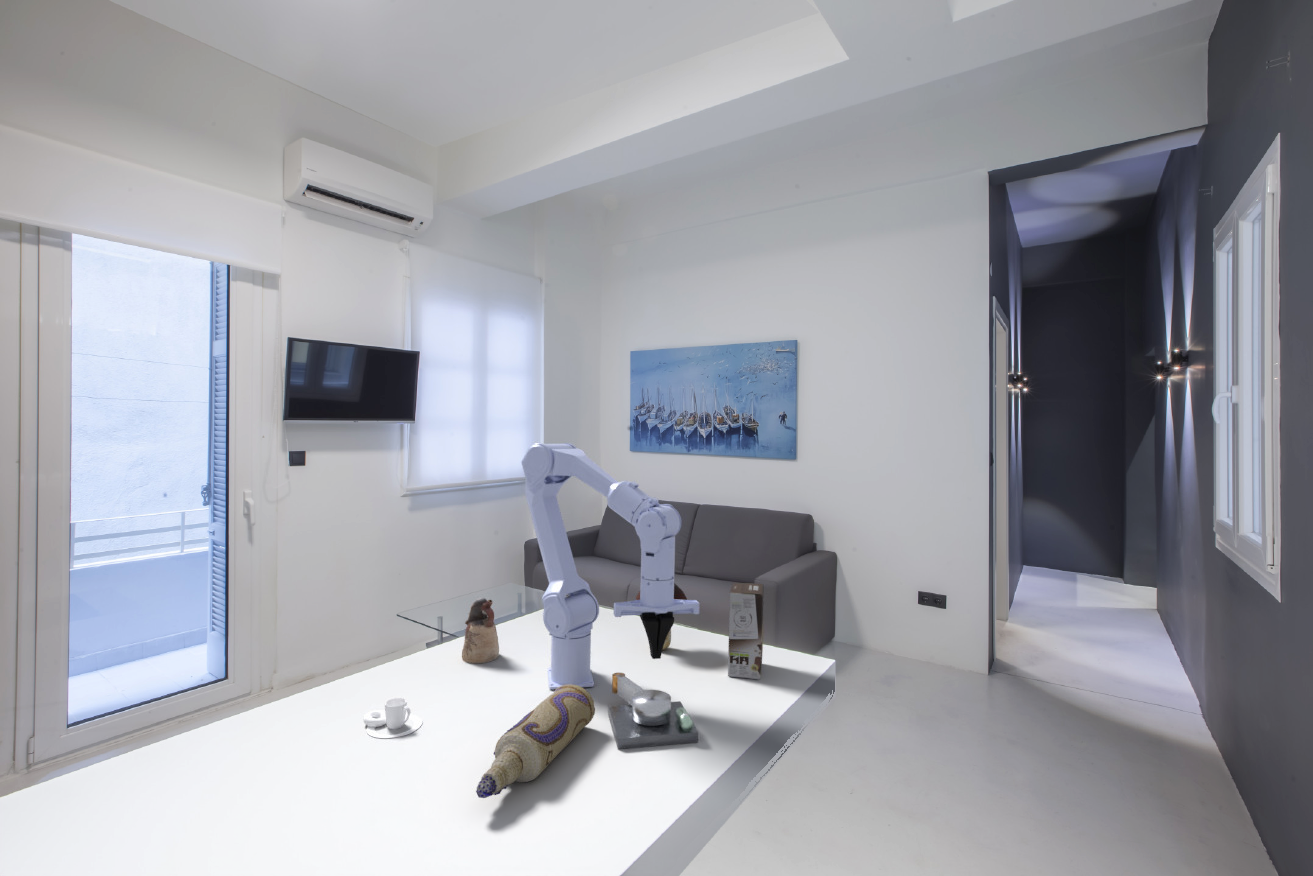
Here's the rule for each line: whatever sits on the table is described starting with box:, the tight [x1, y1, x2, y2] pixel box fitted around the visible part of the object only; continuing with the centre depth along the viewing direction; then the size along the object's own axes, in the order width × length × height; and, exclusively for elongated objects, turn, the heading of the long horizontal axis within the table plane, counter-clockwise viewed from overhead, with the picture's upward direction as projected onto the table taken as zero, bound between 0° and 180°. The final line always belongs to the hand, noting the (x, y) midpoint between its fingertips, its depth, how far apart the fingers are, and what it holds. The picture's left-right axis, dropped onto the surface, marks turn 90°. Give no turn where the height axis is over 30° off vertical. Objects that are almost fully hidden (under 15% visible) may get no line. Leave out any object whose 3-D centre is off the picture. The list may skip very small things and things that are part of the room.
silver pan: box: [611, 672, 672, 726], centre depth 101 cm, size 15×6×3 cm, turn 31°
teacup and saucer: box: [363, 697, 423, 739], centre depth 97 cm, size 9×8×4 cm
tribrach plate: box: [607, 700, 699, 750], centre depth 97 cm, size 11×12×4 cm
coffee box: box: [727, 582, 765, 680], centre depth 122 cm, size 9×6×16 cm
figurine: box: [461, 597, 500, 664], centre depth 127 cm, size 7×7×12 cm
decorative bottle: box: [475, 684, 596, 799], centre depth 86 cm, size 26×8×7 cm, turn 161°
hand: (655, 656), depth 107 cm, fingers closed
